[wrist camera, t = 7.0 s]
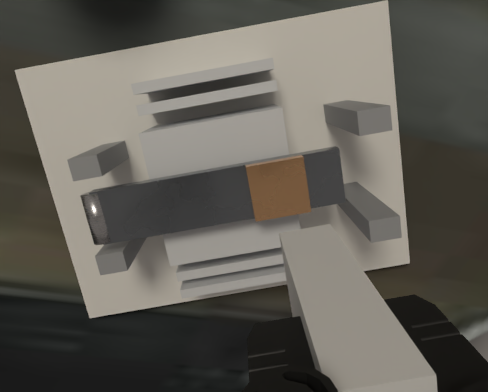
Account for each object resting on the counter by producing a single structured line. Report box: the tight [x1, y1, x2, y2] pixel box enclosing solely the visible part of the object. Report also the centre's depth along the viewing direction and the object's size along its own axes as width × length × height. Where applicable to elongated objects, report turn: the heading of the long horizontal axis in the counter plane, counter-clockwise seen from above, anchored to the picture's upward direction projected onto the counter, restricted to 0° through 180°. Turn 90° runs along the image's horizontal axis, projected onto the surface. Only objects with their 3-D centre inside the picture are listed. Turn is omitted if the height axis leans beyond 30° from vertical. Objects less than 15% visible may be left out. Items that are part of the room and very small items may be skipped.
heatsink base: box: [15, 0, 410, 318], centre depth 26 cm, size 24×18×9 cm
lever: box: [80, 146, 346, 245], centre depth 23 cm, size 14×3×2 cm, turn 100°
